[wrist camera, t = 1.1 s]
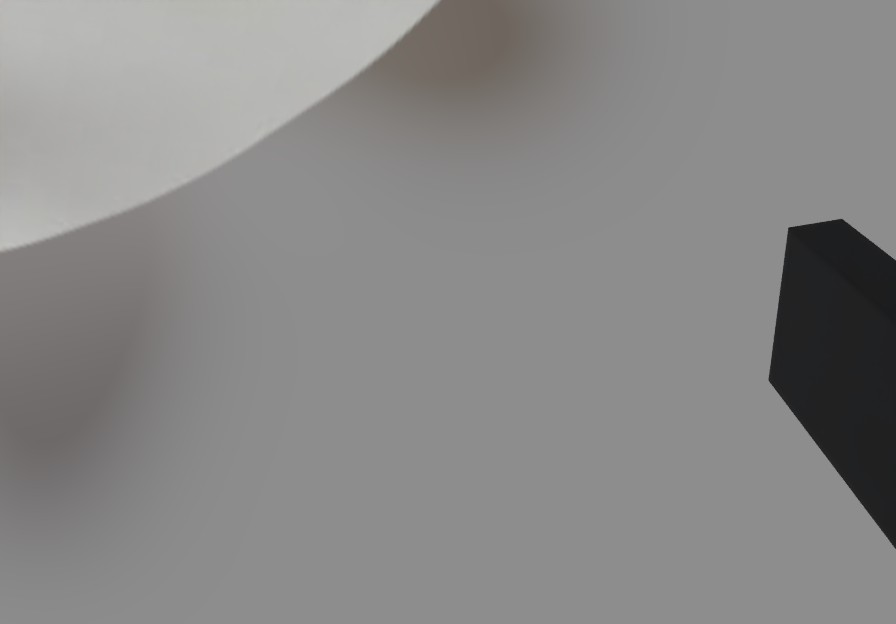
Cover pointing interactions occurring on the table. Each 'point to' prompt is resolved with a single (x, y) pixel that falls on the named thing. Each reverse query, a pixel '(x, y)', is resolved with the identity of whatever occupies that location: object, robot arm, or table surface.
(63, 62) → the table surface
